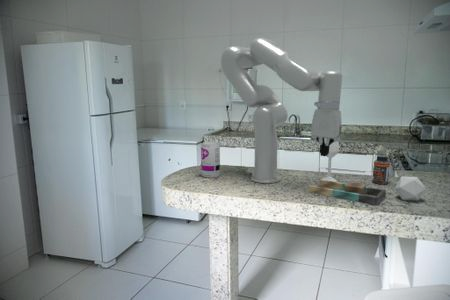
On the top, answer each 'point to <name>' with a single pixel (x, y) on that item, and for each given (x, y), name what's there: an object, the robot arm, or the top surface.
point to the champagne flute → (332, 152)
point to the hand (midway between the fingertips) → (323, 155)
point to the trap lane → (351, 196)
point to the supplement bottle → (381, 170)
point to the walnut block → (355, 188)
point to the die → (410, 188)
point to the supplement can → (210, 159)
